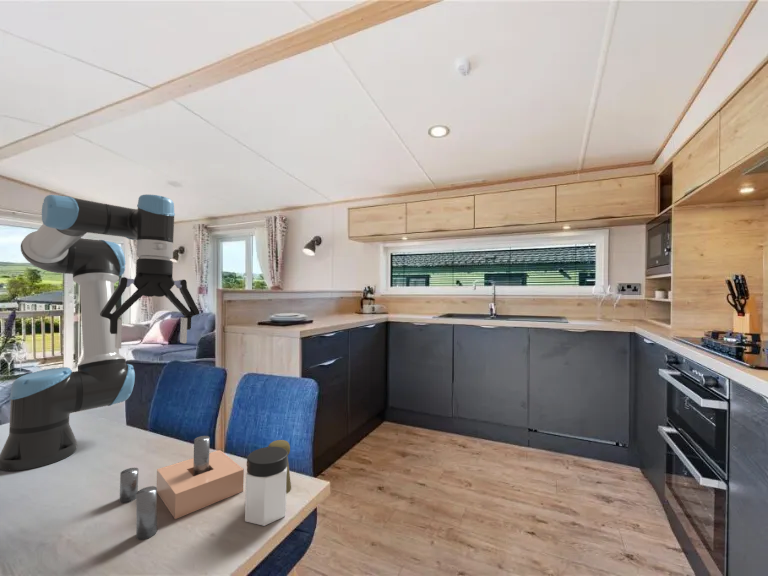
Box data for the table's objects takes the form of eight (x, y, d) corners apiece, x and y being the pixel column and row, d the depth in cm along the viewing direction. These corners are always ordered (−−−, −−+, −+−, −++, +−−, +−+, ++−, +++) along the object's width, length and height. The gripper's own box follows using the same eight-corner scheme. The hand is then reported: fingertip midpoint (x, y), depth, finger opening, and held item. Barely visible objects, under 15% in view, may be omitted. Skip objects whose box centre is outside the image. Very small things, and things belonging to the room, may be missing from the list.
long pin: (190, 491, 79) (192, 438, 79) (205, 485, 81) (206, 434, 82) (195, 496, 77) (196, 442, 77) (210, 491, 79) (211, 438, 79)
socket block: (156, 491, 79) (156, 469, 79) (219, 469, 89) (219, 449, 89) (174, 519, 69) (175, 494, 69) (243, 491, 79) (243, 469, 79)
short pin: (118, 498, 76) (119, 471, 76) (135, 492, 78) (136, 466, 78) (121, 504, 74) (122, 476, 74) (139, 498, 76) (139, 471, 76)
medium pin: (135, 533, 65) (135, 490, 65) (155, 525, 67) (155, 484, 67) (137, 542, 63) (137, 497, 63) (157, 534, 65) (157, 491, 65)
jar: (277, 495, 78) (278, 442, 78) (295, 512, 72) (296, 454, 72) (237, 512, 72) (238, 454, 72) (253, 532, 66) (254, 469, 66)
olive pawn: (283, 498, 77) (284, 449, 77) (259, 495, 78) (260, 446, 78) (295, 484, 83) (296, 438, 83) (272, 481, 84) (273, 435, 84)
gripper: (91, 252, 73) (88, 352, 73) (213, 262, 91) (211, 342, 91) (86, 255, 78) (83, 348, 78) (203, 263, 96) (201, 339, 96)
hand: (152, 345), depth 84 cm, fingers open, 13 cm apart
